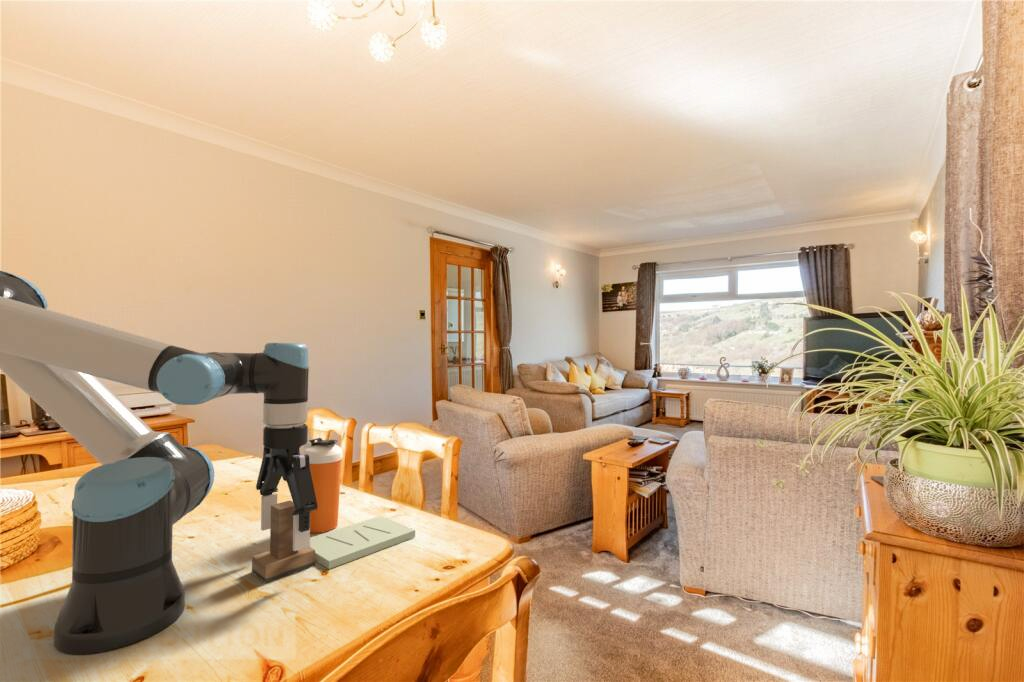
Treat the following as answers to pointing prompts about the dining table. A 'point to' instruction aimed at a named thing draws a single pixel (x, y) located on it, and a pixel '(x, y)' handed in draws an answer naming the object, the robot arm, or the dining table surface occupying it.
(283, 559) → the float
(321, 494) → the shaker bottle
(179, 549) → the dining table surface
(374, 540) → the board
